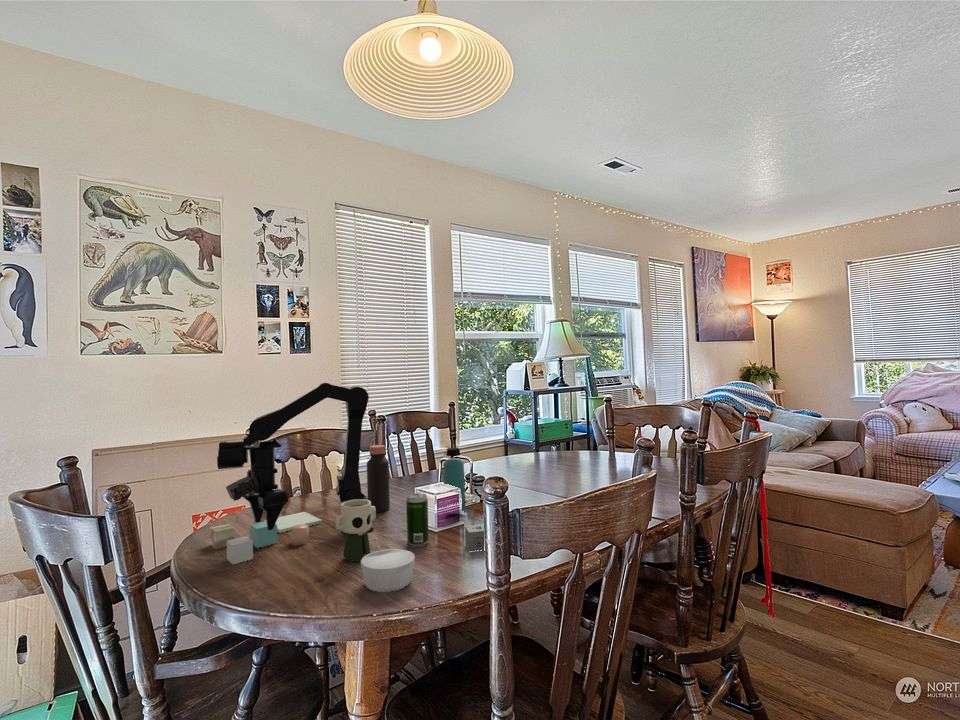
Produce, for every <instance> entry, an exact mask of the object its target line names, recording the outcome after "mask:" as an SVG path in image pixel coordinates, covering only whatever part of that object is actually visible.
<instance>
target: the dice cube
mask: <svg viewBox="0 0 960 720" xmlns="http://www.w3.org/2000/svg"><path fill="white" fill-rule="evenodd" d="M464 542H465V543H464V546H465V545H466V546H465V548H466V547H467V548H468V550H469V551H475V550H476V551H477V550H479V551H480V550H482V551H483V552H485V551H484V525H483V523H481V524H472V525H470V524H469V525H464ZM467 548H466V549H467ZM468 550H467V551H468Z"/></svg>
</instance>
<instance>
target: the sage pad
mask: <svg viewBox="0 0 960 720" xmlns="http://www.w3.org/2000/svg"><path fill="white" fill-rule="evenodd" d="M264 521H266V519H265V520H263V522H264ZM322 521H323V520H322V519H320V518H319V517H316V516H314V515H312V514H310V513H308V512H306V511H301V512H298V513H292V514H288V515H283V516H279V517H278V519H277V521H276V523H275V524H277V533H278V534H282V532H283V533H287V532H286V531H288V532H291V531H290V530H291V527H292V526H295V525H300V524H306V525H308V526H309V527H311V526H312V525H313V526H315V525H316V524H317V525H320V524H322ZM317 525H316V526H317Z"/></svg>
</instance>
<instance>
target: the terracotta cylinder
mask: <svg viewBox="0 0 960 720" xmlns="http://www.w3.org/2000/svg"><path fill="white" fill-rule="evenodd" d="M309 527H310V526H308V525H306V524H300V525H295V526H292V527H291V531H290V544H291V546H302V544H303V545H306V544H308V543H309V542H310V537H309V536H310V533H309V532H310V531H309ZM307 542H308V543H307ZM305 543H306V544H305Z"/></svg>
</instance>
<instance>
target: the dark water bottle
mask: <svg viewBox="0 0 960 720" xmlns="http://www.w3.org/2000/svg"><path fill="white" fill-rule="evenodd" d="M385 455H386V445H385V444H373V445H370V446H369V456H370V458H369V459H368V461H367V462H366V483H367V485H366V486H367V492H366V493H367V499H368V500H369V501H371V506H375V508H376V513H383V512H386V511H388V510H390V508H391V507H390V505H391V502H390V501H391V500H390V467H389V466H390V465H389V463H390V462H389V460H388V459H387V458H386V457H385Z"/></svg>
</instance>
